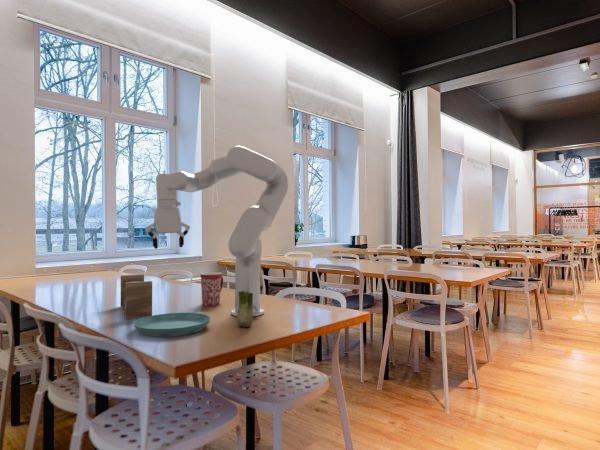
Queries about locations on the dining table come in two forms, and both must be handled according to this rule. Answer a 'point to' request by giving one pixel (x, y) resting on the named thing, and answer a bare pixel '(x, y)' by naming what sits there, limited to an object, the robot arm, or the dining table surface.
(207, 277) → the mug
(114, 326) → the dining table surface
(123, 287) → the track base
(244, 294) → the fennel bulb
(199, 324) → the teal plate
